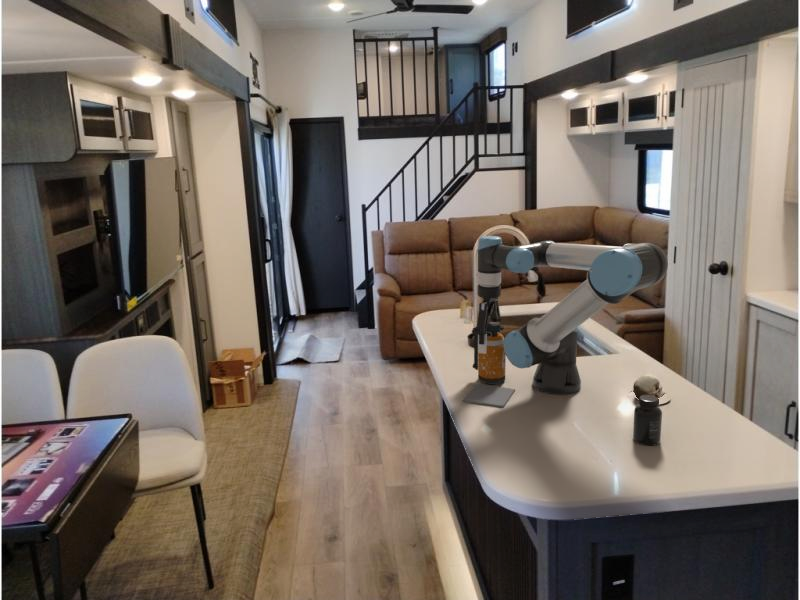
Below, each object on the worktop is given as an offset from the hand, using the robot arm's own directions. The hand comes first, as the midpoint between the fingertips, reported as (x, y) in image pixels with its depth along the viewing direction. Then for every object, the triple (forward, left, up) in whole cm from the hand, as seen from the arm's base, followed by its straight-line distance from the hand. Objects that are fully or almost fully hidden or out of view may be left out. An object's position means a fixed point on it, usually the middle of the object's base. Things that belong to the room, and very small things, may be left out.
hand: (488, 346), depth 208 cm
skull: (-50, -3, -12) cm, 52 cm away
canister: (0, 0, -12) cm, 12 cm away
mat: (-4, +13, -12) cm, 18 cm away
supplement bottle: (-51, +27, -12) cm, 59 cm away
